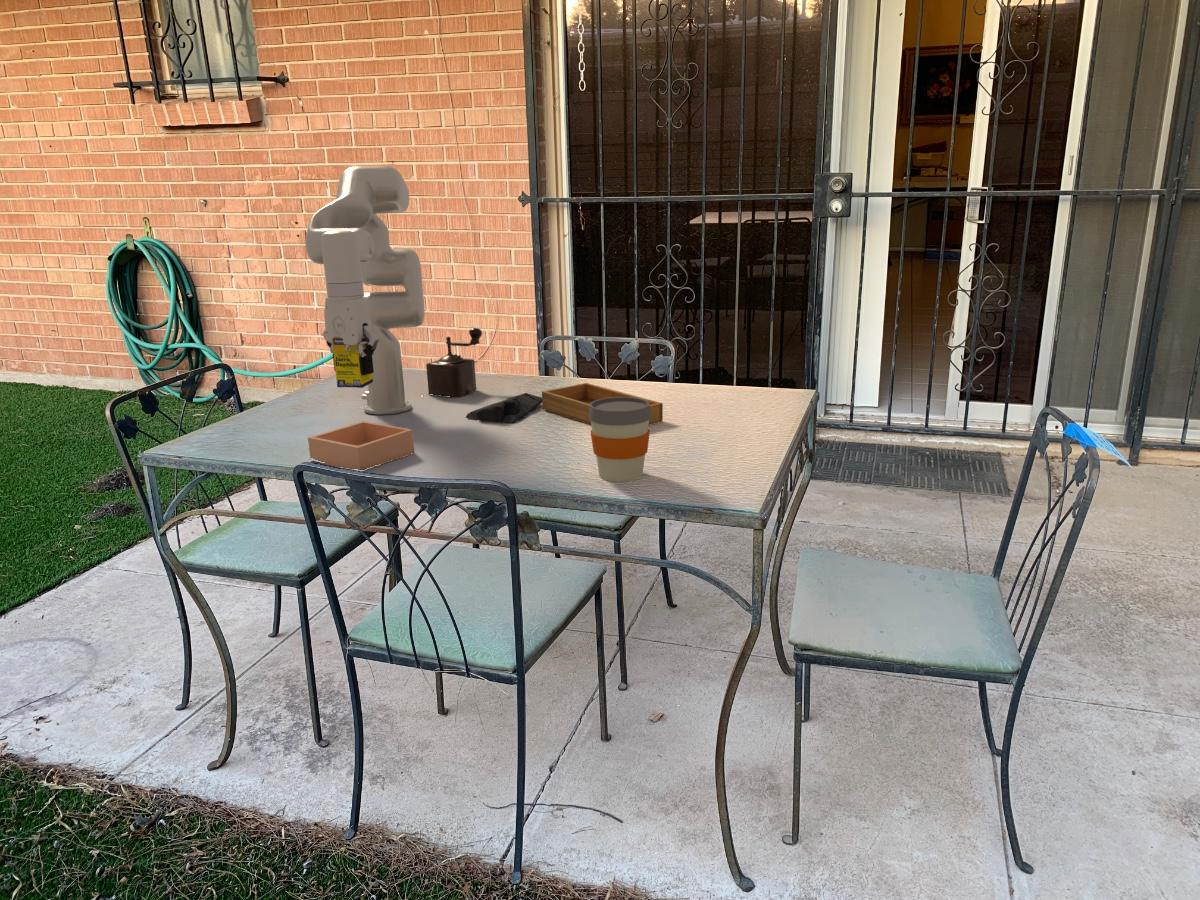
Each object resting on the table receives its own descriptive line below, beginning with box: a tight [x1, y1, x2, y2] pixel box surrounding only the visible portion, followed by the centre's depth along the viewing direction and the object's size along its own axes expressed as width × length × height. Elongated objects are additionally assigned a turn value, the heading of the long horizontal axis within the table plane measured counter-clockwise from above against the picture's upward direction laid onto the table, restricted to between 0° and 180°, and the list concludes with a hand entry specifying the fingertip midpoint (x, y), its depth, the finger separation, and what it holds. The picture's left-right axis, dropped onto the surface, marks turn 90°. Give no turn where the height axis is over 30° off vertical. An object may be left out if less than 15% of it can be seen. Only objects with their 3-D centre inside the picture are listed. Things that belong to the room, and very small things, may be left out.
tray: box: [541, 382, 664, 426], centre depth 225 cm, size 31×15×6 cm, turn 39°
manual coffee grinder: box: [425, 327, 483, 398], centre depth 255 cm, size 16×11×18 cm
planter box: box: [307, 420, 415, 470], centre depth 195 cm, size 16×16×6 cm
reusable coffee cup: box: [589, 397, 651, 483], centre depth 178 cm, size 13×13×15 cm
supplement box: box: [332, 337, 373, 389], centre depth 190 cm, size 6×6×11 cm
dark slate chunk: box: [465, 392, 542, 424], centre depth 232 cm, size 15×22×5 cm
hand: (354, 371), depth 190 cm, fingers closed on supplement box, 7 cm apart
